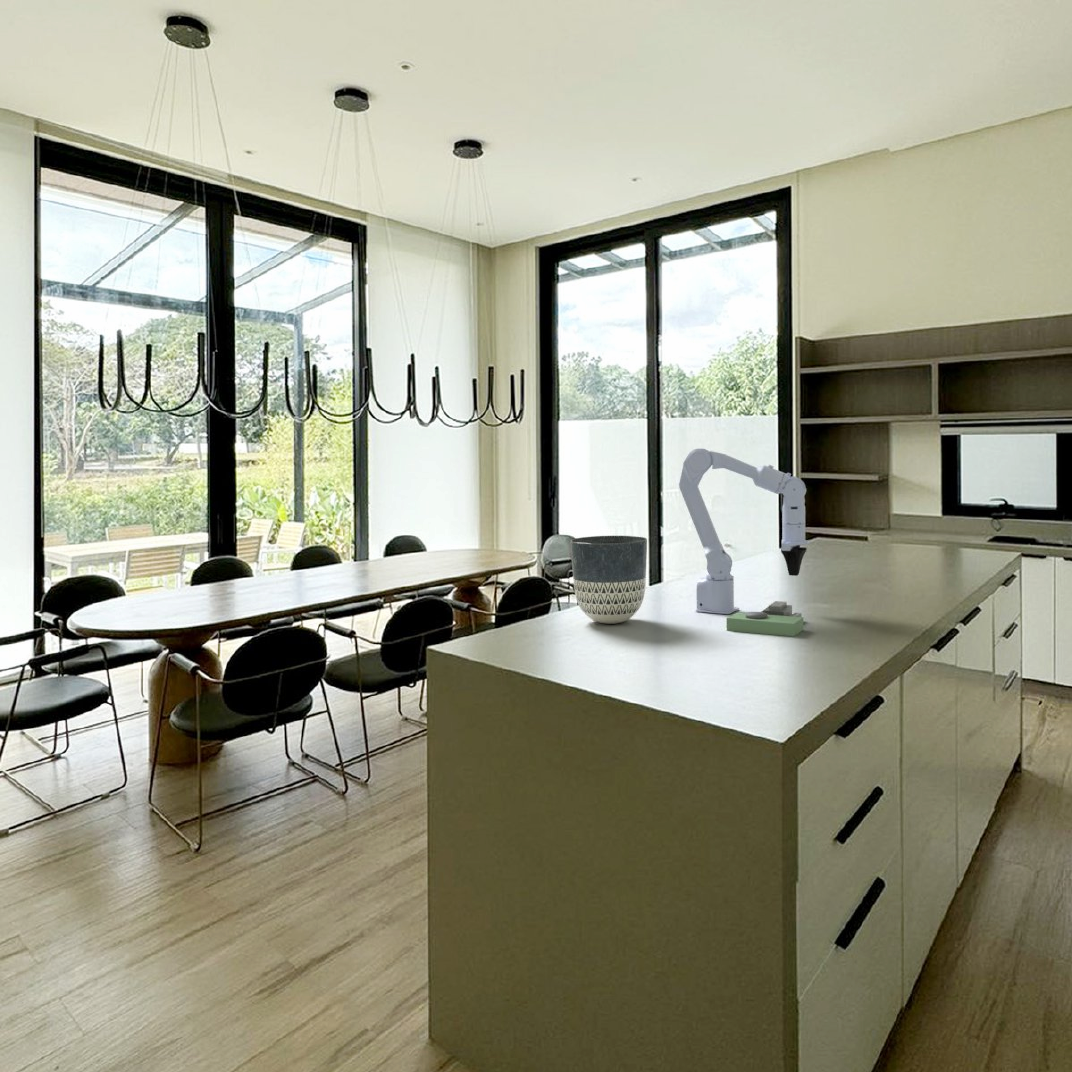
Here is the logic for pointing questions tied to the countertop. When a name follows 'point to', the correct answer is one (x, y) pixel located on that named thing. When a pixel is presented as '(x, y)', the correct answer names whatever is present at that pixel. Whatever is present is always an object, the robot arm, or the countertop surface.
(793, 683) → the countertop surface
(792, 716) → the countertop surface
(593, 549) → the planter
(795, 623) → the deck
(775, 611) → the stepped grey block
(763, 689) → the countertop surface
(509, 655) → the countertop surface
